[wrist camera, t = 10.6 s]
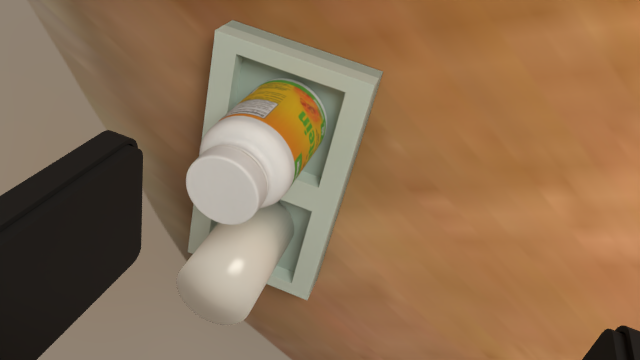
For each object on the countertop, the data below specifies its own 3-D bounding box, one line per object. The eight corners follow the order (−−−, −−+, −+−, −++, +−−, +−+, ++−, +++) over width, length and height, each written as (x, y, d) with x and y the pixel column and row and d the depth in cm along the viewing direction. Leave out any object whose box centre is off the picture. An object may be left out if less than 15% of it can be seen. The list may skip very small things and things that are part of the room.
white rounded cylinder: (300, 208, 38) (256, 280, 32) (287, 259, 41) (244, 336, 34) (236, 183, 39) (179, 249, 32) (227, 235, 42) (173, 306, 35)
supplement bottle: (333, 155, 35) (279, 241, 27) (257, 152, 37) (185, 233, 29) (324, 75, 33) (262, 144, 25) (243, 76, 34) (161, 141, 26)
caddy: (232, 20, 34) (215, 30, 32) (383, 71, 33) (374, 85, 31) (202, 234, 44) (187, 251, 42) (316, 279, 43) (307, 300, 41)
